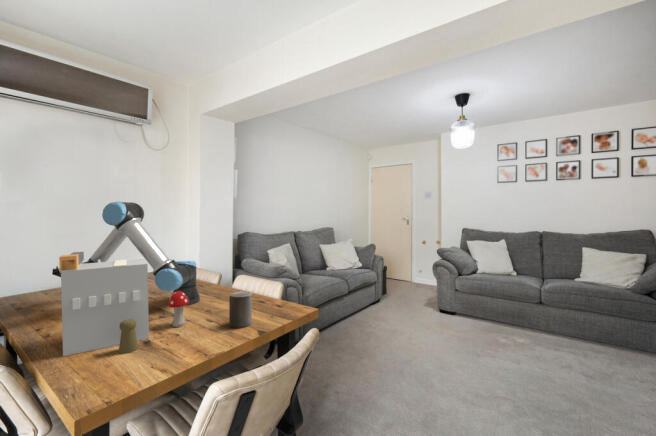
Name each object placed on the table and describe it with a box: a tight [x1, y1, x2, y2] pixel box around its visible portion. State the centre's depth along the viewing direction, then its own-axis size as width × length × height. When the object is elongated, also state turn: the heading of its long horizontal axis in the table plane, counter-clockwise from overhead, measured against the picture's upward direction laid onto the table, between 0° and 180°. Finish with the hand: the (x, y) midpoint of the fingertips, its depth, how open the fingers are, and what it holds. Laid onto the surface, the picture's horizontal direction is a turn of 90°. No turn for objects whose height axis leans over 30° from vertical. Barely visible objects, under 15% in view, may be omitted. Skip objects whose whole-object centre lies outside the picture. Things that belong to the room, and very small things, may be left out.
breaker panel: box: [60, 258, 150, 357], centre depth 119 cm, size 17×26×30 cm, turn 124°
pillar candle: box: [228, 290, 253, 329], centre depth 135 cm, size 10×10×15 cm
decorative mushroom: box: [167, 291, 189, 328], centre depth 135 cm, size 10×9×15 cm
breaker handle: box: [58, 251, 85, 271], centre depth 117 cm, size 26×5×5 cm, turn 34°
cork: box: [118, 319, 139, 355], centre depth 111 cm, size 6×6×11 cm
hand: (79, 263), depth 132 cm, fingers open, 13 cm apart
